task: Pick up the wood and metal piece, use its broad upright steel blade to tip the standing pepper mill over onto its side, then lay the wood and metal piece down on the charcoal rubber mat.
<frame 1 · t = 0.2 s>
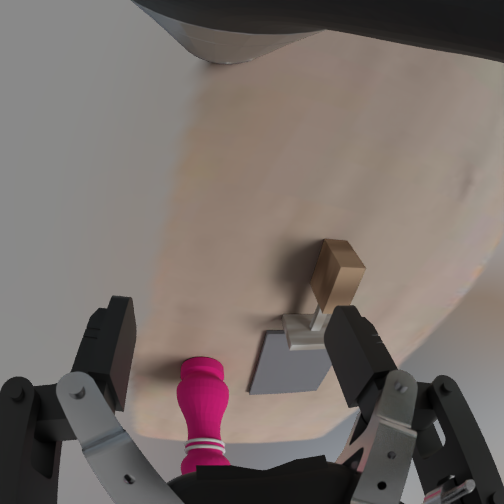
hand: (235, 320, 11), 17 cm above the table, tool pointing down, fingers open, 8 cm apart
wood and metal piece: (320, 283, 34), on the table
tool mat: (295, 364, 43), on the table
pepper mill: (202, 367, 41), on the table
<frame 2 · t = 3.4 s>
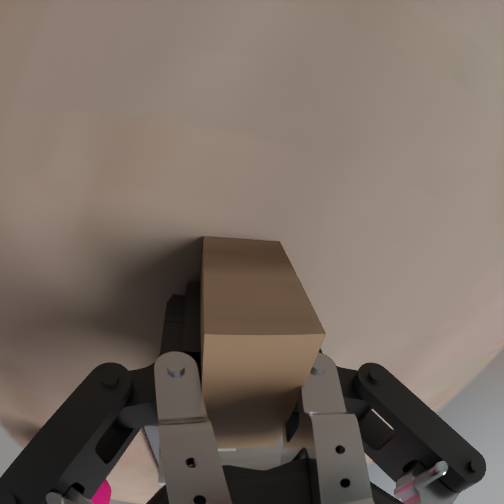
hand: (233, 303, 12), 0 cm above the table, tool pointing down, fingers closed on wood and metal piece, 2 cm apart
wood and metal piece: (226, 354, 13), on the table, touching gripper
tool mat: (223, 457, 22), on the table
pepper mill: (79, 443, 20), on the table
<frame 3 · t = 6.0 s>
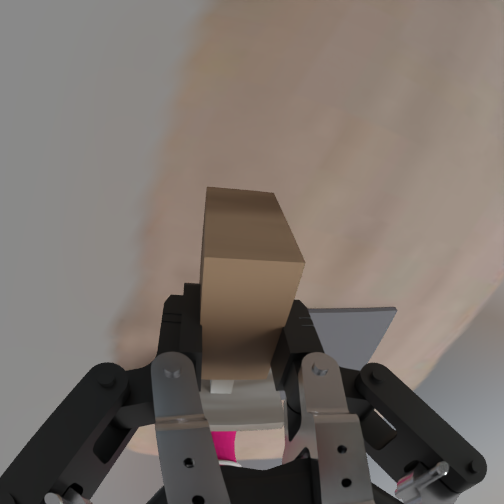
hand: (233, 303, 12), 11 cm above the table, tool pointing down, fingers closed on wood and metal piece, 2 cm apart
wood and metal piece: (225, 298, 15), point 8 cm above the table, touching gripper
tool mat: (327, 358, 33), on the table
pepper mill: (207, 364, 31), on the table
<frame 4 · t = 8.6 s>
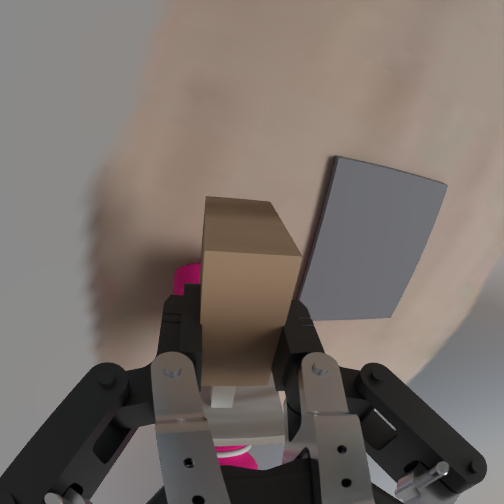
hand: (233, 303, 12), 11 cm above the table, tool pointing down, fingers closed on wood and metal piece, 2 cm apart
wood and metal piece: (225, 309, 15), point 9 cm above the table, touching gripper, pepper mill
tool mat: (370, 251, 26), on the table
pepper mill: (215, 270, 23), point 2 cm above the table, touching wood and metal piece
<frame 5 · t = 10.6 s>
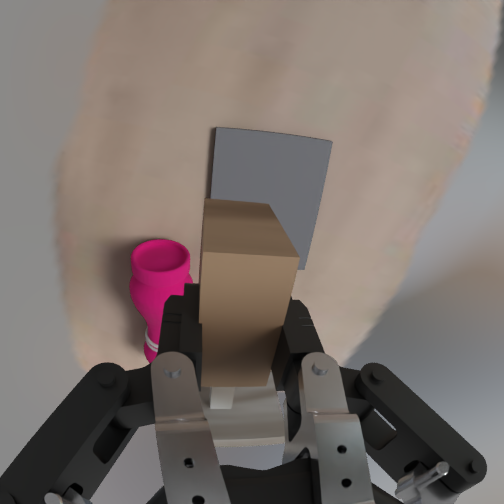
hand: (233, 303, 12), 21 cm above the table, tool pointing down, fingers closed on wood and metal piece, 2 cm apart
wood and metal piece: (224, 311, 15), point 18 cm above the table, touching gripper
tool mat: (265, 204, 32), on the table
pepper mill: (160, 252, 29), point 4 cm above the table
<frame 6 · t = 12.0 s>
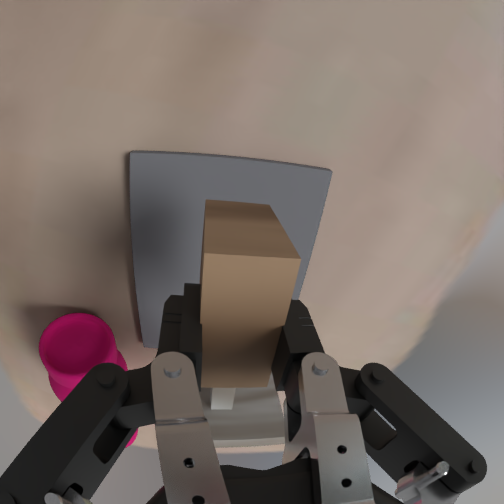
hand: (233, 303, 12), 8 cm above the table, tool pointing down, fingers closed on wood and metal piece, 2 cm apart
wood and metal piece: (224, 312, 15), point 6 cm above the table, touching gripper
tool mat: (220, 270, 21), on the table
pepper mill: (74, 340, 18), point 4 cm above the table
when the fingers open (3 cm above the table, at t = 13.5 s): wood and metal piece stays where it is, resting on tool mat.
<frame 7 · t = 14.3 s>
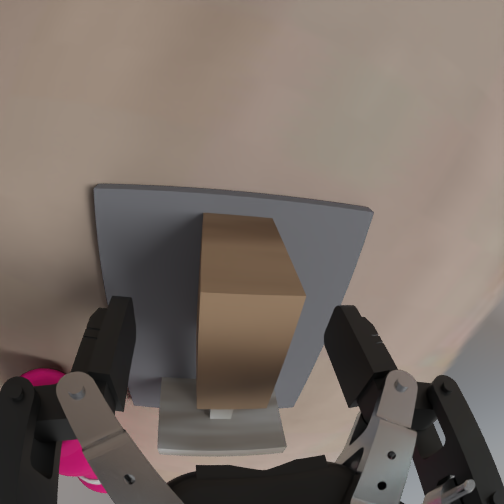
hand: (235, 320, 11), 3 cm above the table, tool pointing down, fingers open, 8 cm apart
wood and metal piece: (224, 324, 15), point 1 cm above the table, touching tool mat
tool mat: (222, 332, 16), on the table
pepper mill: (40, 404, 13), point 4 cm above the table
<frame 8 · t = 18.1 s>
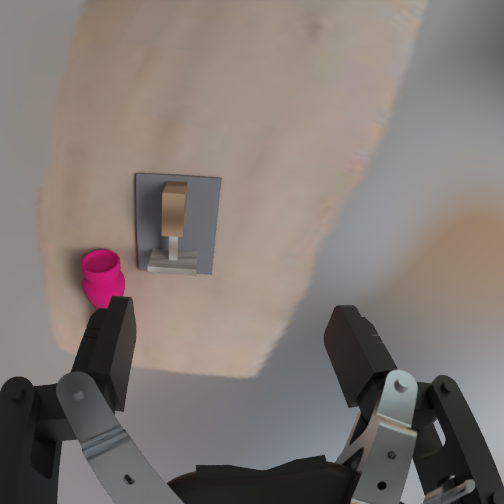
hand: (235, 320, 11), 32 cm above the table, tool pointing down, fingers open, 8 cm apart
wood and metal piece: (175, 220, 42), point 1 cm above the table, touching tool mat
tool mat: (176, 226, 44), on the table
pepper mill: (100, 259, 40), point 4 cm above the table
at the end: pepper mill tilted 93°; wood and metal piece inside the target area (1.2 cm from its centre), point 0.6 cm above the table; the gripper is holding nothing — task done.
